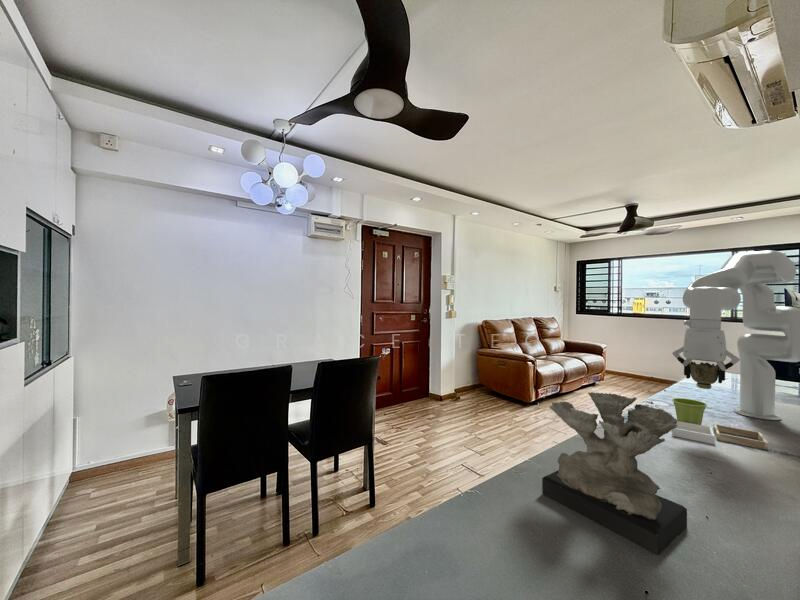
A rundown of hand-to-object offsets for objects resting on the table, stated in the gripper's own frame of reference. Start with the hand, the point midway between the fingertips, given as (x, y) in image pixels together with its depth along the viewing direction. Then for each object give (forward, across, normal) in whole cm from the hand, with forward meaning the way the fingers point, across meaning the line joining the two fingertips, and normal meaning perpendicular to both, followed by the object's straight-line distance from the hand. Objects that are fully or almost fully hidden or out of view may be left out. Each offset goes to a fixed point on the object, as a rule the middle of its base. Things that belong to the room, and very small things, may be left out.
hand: (703, 379), depth 110 cm
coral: (+19, -9, -64) cm, 68 cm away
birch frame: (+18, +8, +6) cm, 21 cm away
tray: (+18, -2, -2) cm, 18 cm away
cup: (+3, 0, 0) cm, 3 cm away
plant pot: (+18, -4, +8) cm, 20 cm away
